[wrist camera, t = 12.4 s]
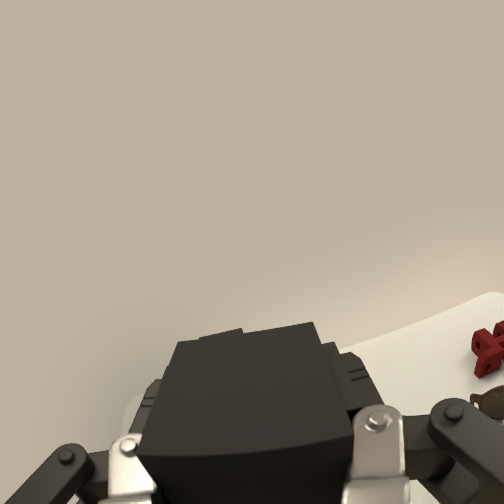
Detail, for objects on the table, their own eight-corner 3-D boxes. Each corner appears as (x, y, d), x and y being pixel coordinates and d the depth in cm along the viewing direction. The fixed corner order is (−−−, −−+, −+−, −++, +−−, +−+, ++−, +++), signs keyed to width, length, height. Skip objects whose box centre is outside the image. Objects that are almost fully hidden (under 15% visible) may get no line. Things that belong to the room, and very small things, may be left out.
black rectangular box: (229, 568, 7) (134, 454, 5) (233, 485, 12) (177, 341, 10) (341, 556, 7) (355, 434, 5) (324, 474, 12) (312, 320, 10)
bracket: (483, 358, 25) (538, 333, 25) (460, 334, 31) (513, 314, 30) (478, 378, 26) (533, 351, 25) (457, 353, 32) (510, 332, 31)
